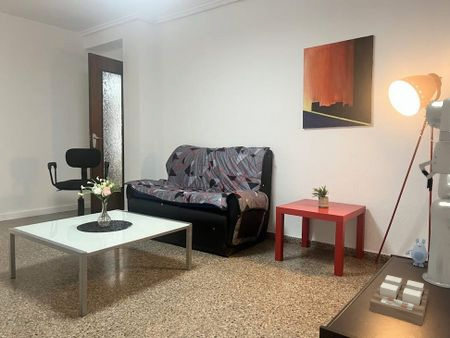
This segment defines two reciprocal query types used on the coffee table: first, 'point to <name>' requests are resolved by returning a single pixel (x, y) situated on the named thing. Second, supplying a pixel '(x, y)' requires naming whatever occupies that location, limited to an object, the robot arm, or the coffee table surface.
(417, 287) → the button
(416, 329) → the coffee table surface
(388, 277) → the button
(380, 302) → the button board
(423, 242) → the toy figure
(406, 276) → the coffee table surface
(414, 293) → the button
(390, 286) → the button
